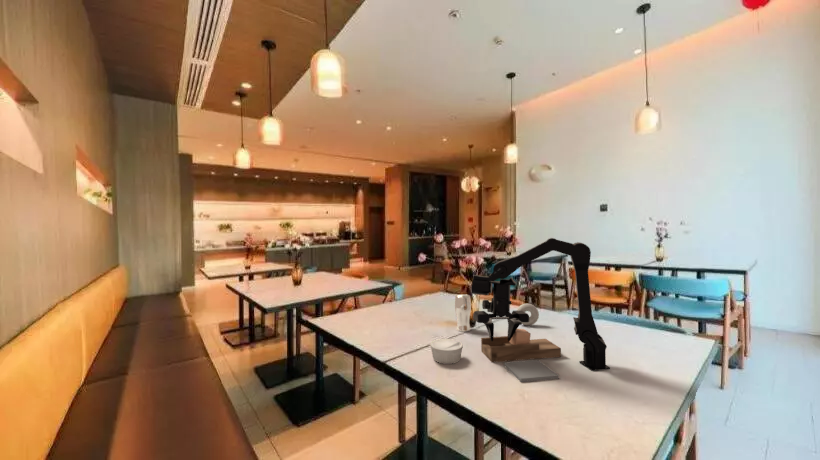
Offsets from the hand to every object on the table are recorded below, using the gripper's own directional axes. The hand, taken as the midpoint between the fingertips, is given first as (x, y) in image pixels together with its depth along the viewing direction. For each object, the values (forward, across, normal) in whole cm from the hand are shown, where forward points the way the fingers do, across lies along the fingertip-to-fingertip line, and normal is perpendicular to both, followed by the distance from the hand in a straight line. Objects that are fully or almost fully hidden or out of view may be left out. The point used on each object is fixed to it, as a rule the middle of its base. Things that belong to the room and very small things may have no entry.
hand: (500, 340), depth 119 cm
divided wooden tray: (+5, -8, 0) cm, 9 cm away
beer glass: (+6, +4, -31) cm, 32 cm away
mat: (+5, -4, +14) cm, 15 cm away
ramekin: (+6, +19, -1) cm, 20 cm away
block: (+2, -7, 0) cm, 7 cm away
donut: (+4, -26, -31) cm, 41 cm away
